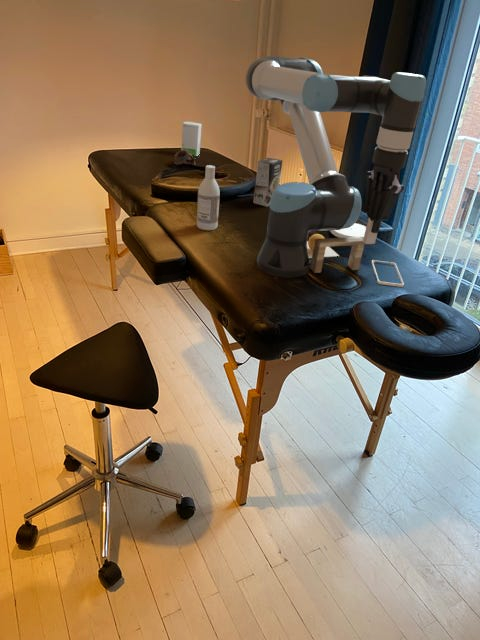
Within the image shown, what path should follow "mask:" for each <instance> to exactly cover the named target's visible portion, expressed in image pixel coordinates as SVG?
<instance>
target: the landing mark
mask: <svg viewBox="0 0 480 640" xmlns="http://www.w3.org/2000/svg"><path fill="white" fill-rule="evenodd" d="M307 249H308V255H309V259H312V256H313V251H312V250H311V249H310V248H309V246H308V240H307ZM337 256H338V257H340V255H339V254H338V253H337V252H336V251H335V250H334V249H332V247H326V249H325V254H324V258H334V257H335V258H336V257H337ZM338 257H337V258H338Z"/></svg>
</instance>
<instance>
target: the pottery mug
mask: <svg viewBox="0 0 480 640" xmlns="http://www.w3.org/2000/svg"><path fill="white" fill-rule="evenodd" d="M179 156H181V157H180V158H178V157H179ZM189 162H191V163H194V165H196V161H195V158H193V156H192V154H191V153H189V152H188V151H187V150H181V149H180V150H179V151H177V152H176V153H175V154H174V155H173V165H174V164H176V165H182V164H187V163H189ZM194 165H193V166H194Z"/></svg>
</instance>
